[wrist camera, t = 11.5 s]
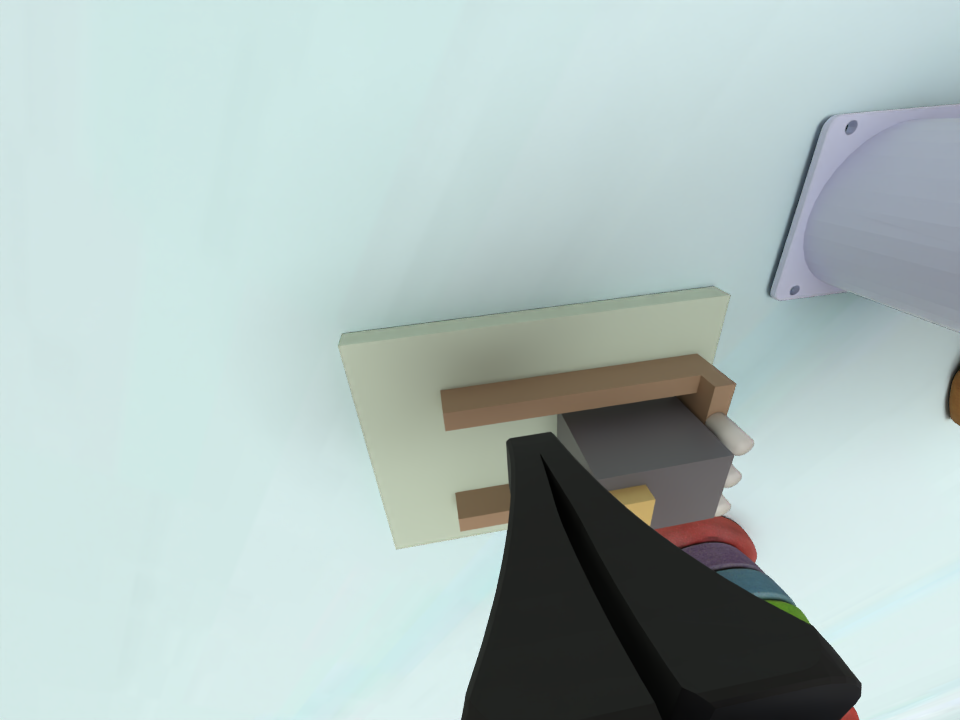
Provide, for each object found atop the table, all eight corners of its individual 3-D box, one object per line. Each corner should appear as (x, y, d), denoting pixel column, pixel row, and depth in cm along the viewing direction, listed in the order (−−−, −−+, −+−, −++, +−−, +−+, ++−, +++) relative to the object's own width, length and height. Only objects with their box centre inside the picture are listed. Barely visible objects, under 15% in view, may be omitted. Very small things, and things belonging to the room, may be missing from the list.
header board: (714, 286, 20) (816, 339, 15) (666, 484, 27) (724, 565, 22) (342, 333, 18) (316, 411, 13) (396, 532, 25) (393, 631, 20)
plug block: (668, 388, 21) (748, 468, 16) (657, 445, 23) (725, 532, 18) (557, 406, 20) (604, 495, 16) (556, 463, 23) (597, 558, 18)
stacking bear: (636, 607, 35) (814, 985, 19) (585, 556, 30) (770, 1009, 14) (753, 548, 33) (1054, 916, 17) (719, 483, 28) (1098, 918, 12)
